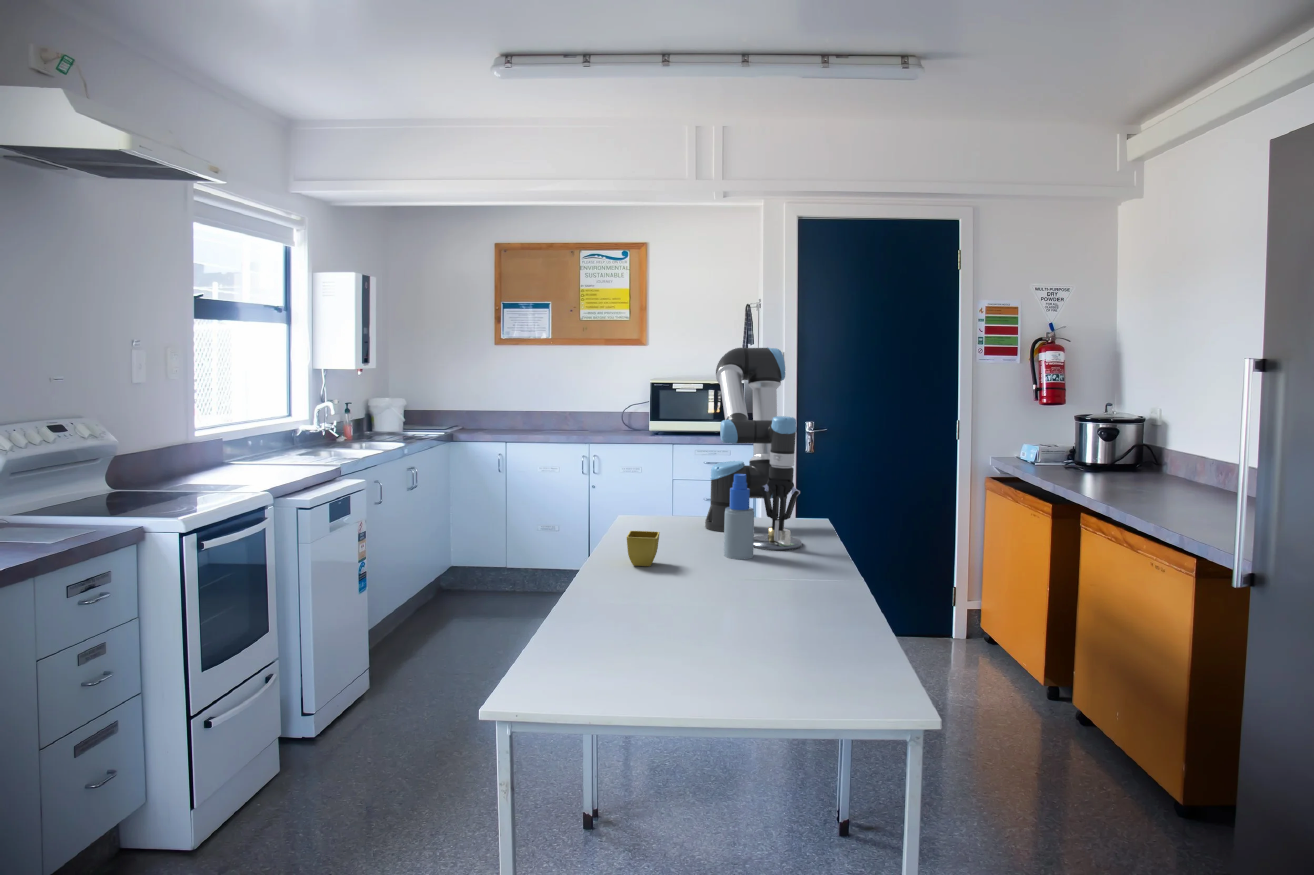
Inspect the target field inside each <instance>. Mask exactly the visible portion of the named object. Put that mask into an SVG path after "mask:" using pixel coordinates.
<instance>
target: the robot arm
mask: <svg viewBox="0 0 1314 875" xmlns="http://www.w3.org/2000/svg"><path fill="white" fill-rule="evenodd" d="M716 365H717V366H716V369H715V378H716V382H717V383H718V384H719V385H720V394H721V400H722V406H723V407H722V408H723V415H724V419H723V420H721V421H720V430H719V431H720V432H719V433H720V440H721V442H722V443H723V444H732V445H733V444H734V445H735V444H737V445H738V444H753V449H752V450H753V456H752V457H751V458H750V459H749V461H748V462H749V465H746V464H745V462H744V461H743V460H733V461H731V460H730V461H723V462H718V463H715V464H714V465H712V467H711V470H710V477H709V478H710V506H709V508H708V511H707V516H706V518H705V522H704V523H705V524H704V525H705V526H704V528H705V529H708V530H710V531H714V532H715V531H716V532H724V524H725V509H726V508H727V507H730V488H733V482H734V474H746V483H747V488H749V489H750V499H763V502H764V507H765V513H766V517H768V518H770V519H771V521H772V523H771V526H772V529H773V530H775V533H774V541H779V540H780V536H781V531H782V530H783V529H784V528H785V521H787V520H789V519H791V518H792V513H793V511H794V508H795V505H796V502H797V498H799V495H800V494H801V490H800V489H797V488H796V487H795V483H794V471H795V470H794V467H793V466H794V465H795V453H796V452H795V449H796V438H797V437H796V436H797V419H796V418H795V417H793V416H787V415H786V416H785V415H783V416H782V415H778V403H777V402H778V400H777V399H778V394H777V392H778V391H777V390H778V389H779V387H780V386H782V383H781V382H782V381H784V380H785V378H786V361H785V358H784V355H783V352H782V351H781V349H779V348H776V347H775V348H774V347H772V348H771V347H768V346H767V347H735V348H732V349H731V350H729V351H726V353H725V354H723V356H722V357H721V358H720V359H719V361H718V362H717V364H716ZM742 381H748V382H747V385H748V387H749V388H750V389H751V390H752V418H753V419H752V420H751V419H749V416H748V415H749V414H748V411H747V405H746V397H745V393H744V388H743V382H742ZM789 494H791V496H790V499H789V502H788V505H787V499H788V495H789ZM771 499H772V500H771Z"/></svg>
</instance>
